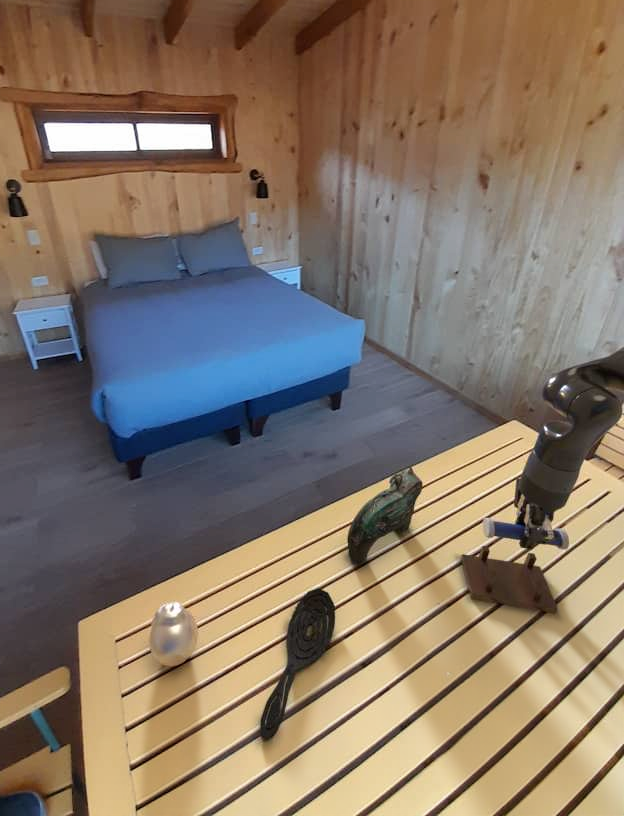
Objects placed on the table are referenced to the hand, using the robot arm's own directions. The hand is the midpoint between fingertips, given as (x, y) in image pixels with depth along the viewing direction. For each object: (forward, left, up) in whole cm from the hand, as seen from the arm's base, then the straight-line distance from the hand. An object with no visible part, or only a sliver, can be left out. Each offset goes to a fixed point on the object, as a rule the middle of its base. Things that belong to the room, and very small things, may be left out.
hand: (522, 538), depth 80 cm
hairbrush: (+42, +22, -14) cm, 50 cm away
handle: (0, 0, 0) cm, 0 cm away
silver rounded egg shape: (+65, +24, -14) cm, 71 cm away
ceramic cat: (+25, -5, -14) cm, 29 cm away
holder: (0, 0, -14) cm, 14 cm away
